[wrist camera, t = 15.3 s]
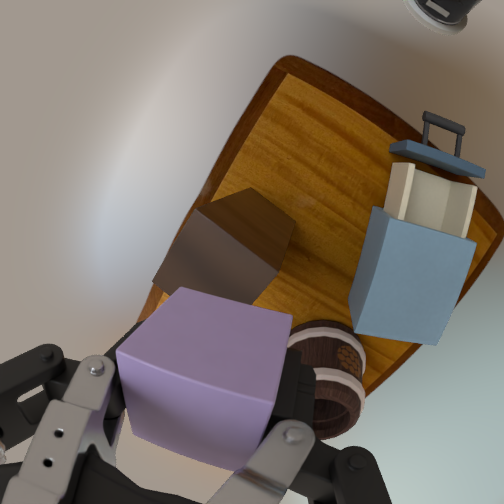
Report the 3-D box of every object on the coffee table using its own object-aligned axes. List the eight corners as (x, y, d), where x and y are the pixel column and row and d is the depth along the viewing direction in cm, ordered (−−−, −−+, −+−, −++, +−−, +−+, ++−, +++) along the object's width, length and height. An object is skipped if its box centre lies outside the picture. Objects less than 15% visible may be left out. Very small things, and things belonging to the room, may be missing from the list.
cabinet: (372, 205, 38) (389, 217, 29) (447, 226, 36) (477, 243, 27) (347, 299, 42) (354, 332, 33) (417, 312, 40) (436, 345, 31)
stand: (250, 187, 40) (195, 208, 22) (295, 221, 41) (279, 272, 22) (220, 230, 43) (151, 281, 25) (262, 263, 43) (223, 337, 25)
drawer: (394, 110, 32) (412, 99, 25) (463, 135, 30) (490, 132, 23) (370, 238, 38) (382, 255, 31) (438, 255, 36) (459, 274, 29)
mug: (381, 346, 43) (397, 410, 29) (323, 397, 49) (320, 459, 35) (288, 281, 43) (275, 336, 29) (236, 343, 49) (209, 403, 35)
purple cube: (180, 285, 11) (113, 349, 7) (293, 314, 10) (274, 403, 6) (177, 367, 13) (132, 435, 9) (270, 394, 12) (247, 475, 8)
